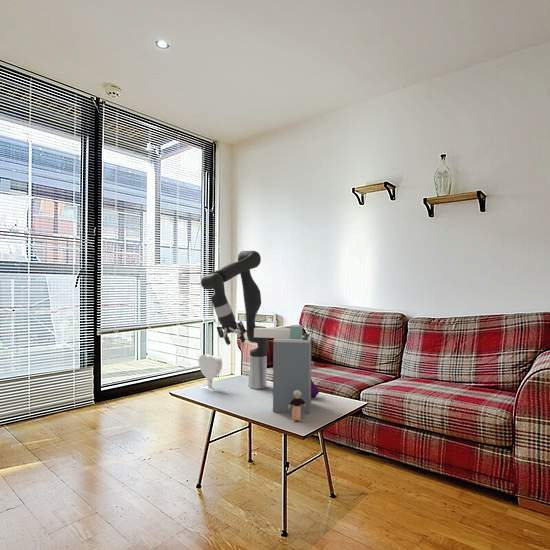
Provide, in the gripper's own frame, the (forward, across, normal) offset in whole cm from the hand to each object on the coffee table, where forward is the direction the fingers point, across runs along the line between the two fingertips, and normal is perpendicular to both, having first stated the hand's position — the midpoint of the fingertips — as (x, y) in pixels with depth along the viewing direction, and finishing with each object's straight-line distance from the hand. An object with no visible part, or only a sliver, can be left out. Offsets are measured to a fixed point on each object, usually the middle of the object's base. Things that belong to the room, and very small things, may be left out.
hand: (236, 343), depth 197 cm
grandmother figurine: (+29, -32, +22) cm, 48 cm away
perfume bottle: (+39, -22, -10) cm, 46 cm away
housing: (+32, -22, +8) cm, 40 cm away
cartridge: (+1, -21, -2) cm, 21 cm away
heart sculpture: (+25, +29, -2) cm, 39 cm away
